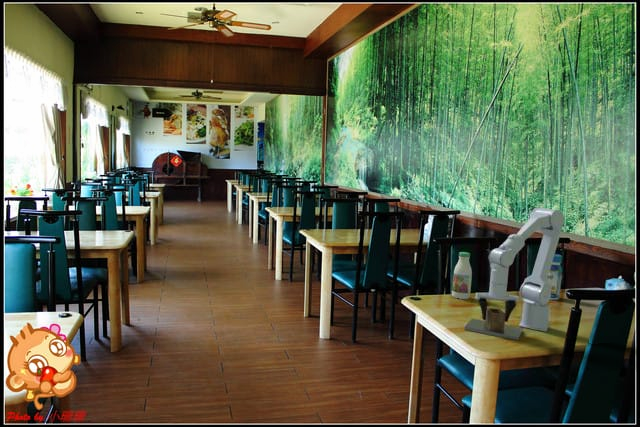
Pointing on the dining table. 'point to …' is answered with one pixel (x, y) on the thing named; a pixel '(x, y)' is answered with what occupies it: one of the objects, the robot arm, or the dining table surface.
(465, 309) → the dining table surface
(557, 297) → the beverage bottle
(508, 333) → the plate
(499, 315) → the hollow wooden block
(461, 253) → the milk bottle
